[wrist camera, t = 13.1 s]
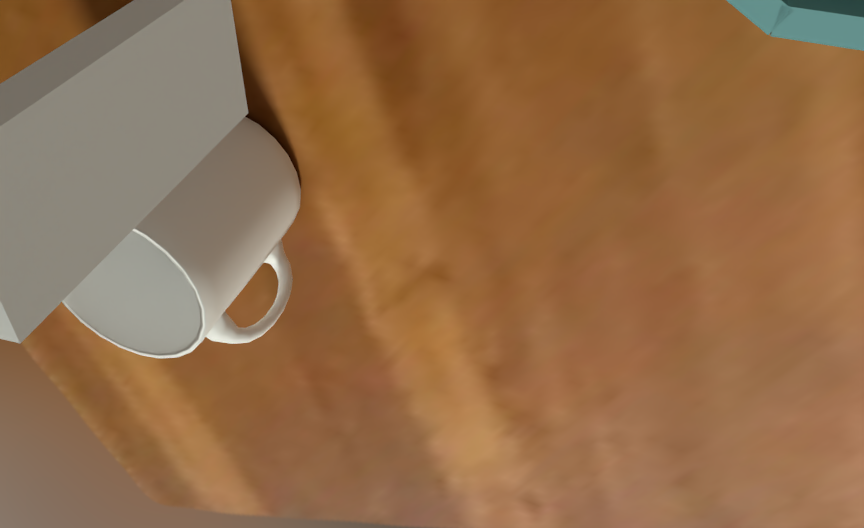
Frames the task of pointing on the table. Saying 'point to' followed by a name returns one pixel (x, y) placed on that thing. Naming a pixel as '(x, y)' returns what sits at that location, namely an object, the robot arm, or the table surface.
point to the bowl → (809, 20)
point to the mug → (198, 253)
